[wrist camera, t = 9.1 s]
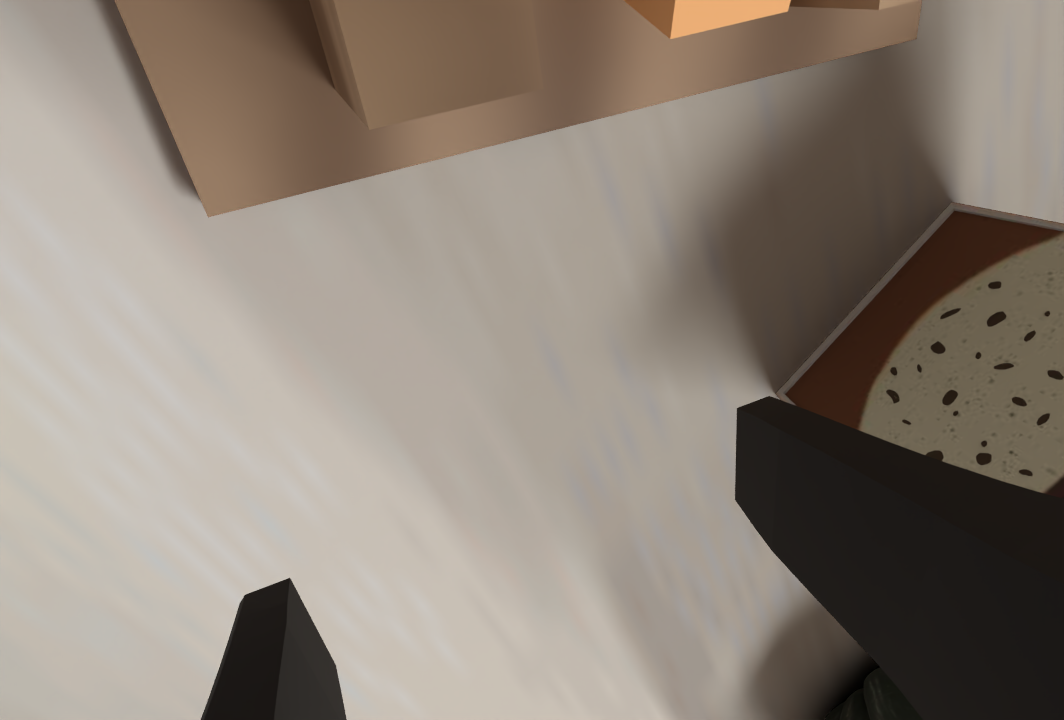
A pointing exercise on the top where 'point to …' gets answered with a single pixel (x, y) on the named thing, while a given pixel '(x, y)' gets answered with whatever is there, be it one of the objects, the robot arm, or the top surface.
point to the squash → (875, 702)
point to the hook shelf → (327, 143)
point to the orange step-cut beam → (703, 13)
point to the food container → (957, 350)
